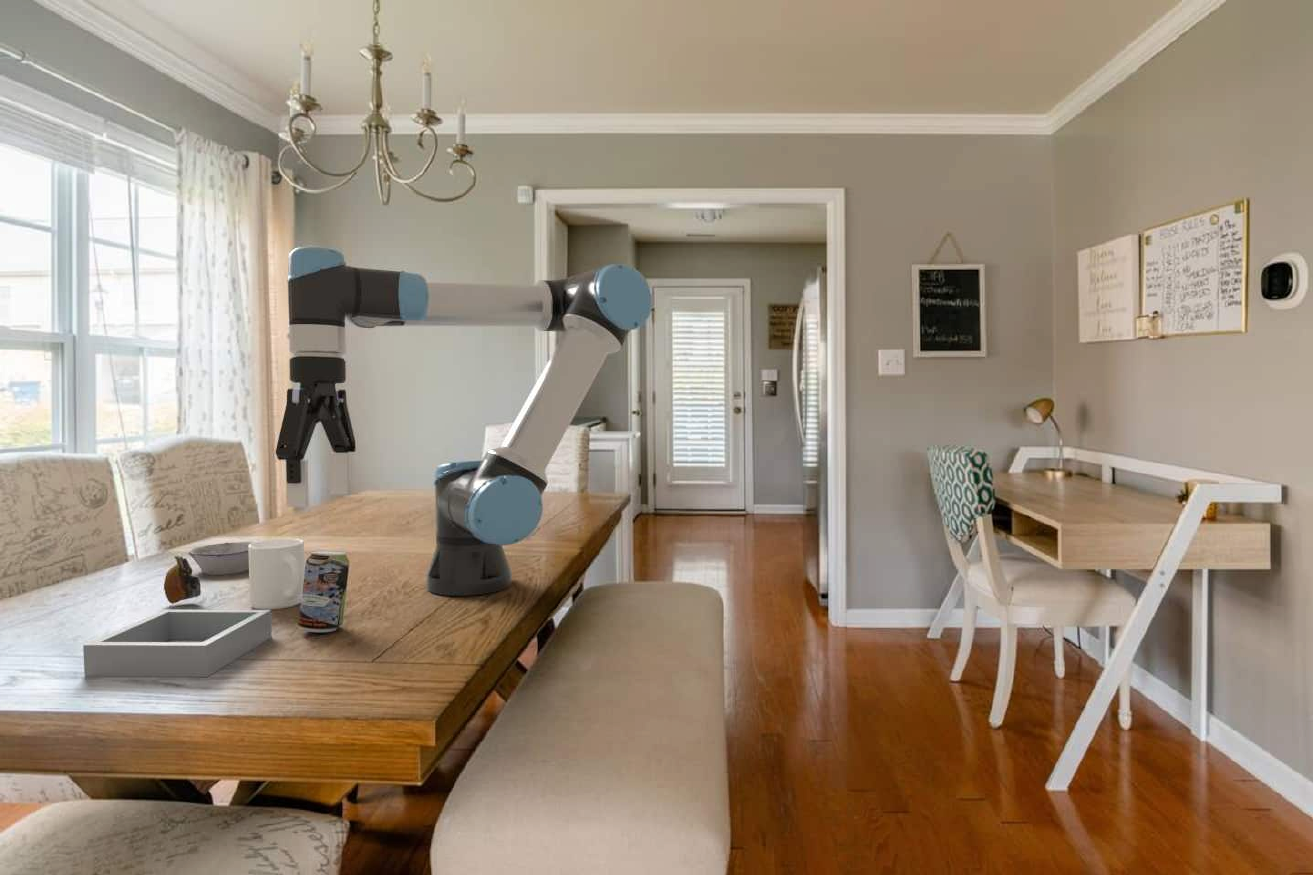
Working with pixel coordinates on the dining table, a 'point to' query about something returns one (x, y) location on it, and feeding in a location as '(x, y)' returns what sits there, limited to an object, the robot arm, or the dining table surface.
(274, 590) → the mug
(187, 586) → the rock
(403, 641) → the dining table surface
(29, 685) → the dining table surface
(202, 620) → the corral
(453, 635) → the dining table surface
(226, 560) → the bowl
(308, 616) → the beverage can
